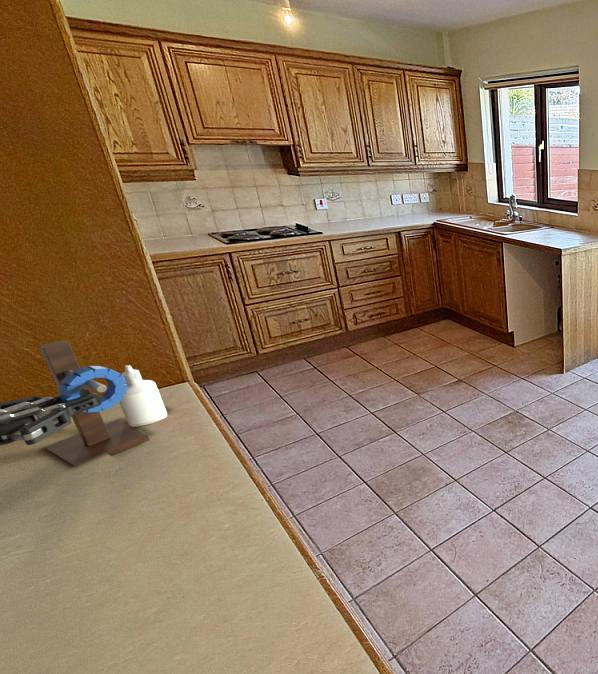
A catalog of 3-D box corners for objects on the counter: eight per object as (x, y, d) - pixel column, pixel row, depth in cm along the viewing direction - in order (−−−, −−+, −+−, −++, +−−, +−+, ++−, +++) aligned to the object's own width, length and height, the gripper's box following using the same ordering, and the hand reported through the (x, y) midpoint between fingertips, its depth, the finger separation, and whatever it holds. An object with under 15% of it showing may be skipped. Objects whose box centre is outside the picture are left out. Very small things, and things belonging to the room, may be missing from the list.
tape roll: (96, 416, 79) (45, 397, 73) (130, 378, 82) (84, 358, 76) (103, 419, 78) (52, 400, 72) (137, 381, 81) (91, 360, 75)
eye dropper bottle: (161, 424, 91) (140, 369, 86) (124, 428, 89) (101, 373, 85) (171, 412, 95) (152, 359, 90) (136, 416, 93) (114, 362, 88)
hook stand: (47, 453, 82) (-6, 348, 74) (120, 424, 91) (79, 327, 82) (95, 483, 76) (43, 372, 68) (169, 449, 85) (130, 347, 77)
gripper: (-73, 446, 58) (108, 386, 73) (-113, 416, 63) (63, 365, 78) (-43, 493, 61) (125, 426, 76) (-84, 461, 66) (81, 404, 81)
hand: (93, 396), depth 77 cm, fingers closed on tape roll, 2 cm apart
